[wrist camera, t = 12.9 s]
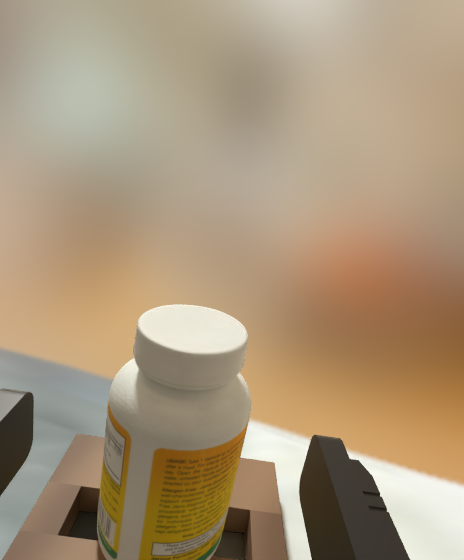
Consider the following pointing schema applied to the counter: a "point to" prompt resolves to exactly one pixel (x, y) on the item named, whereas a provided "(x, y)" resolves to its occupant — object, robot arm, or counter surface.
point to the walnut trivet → (85, 497)
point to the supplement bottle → (174, 436)
